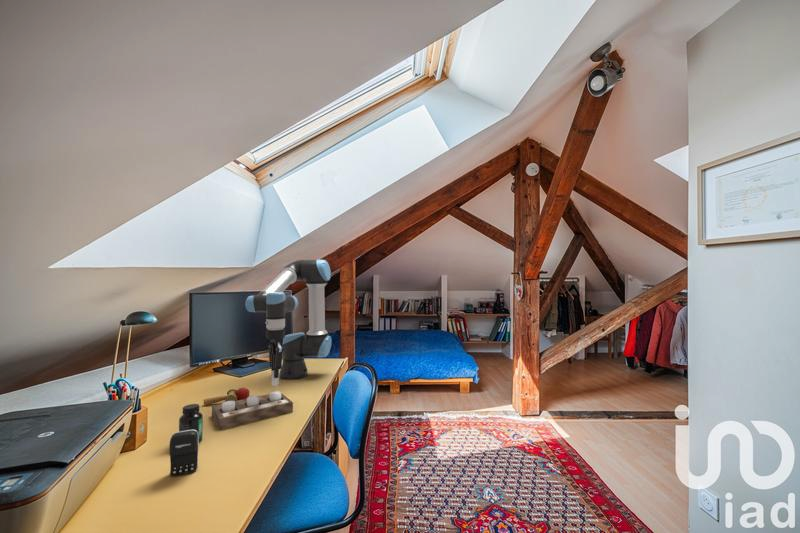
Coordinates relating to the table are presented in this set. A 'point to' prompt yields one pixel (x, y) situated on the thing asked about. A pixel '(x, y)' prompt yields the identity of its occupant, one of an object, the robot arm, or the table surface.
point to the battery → (184, 452)
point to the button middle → (252, 401)
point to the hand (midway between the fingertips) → (275, 385)
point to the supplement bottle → (191, 419)
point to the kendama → (229, 396)
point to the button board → (251, 411)
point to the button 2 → (275, 396)
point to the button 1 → (228, 406)
